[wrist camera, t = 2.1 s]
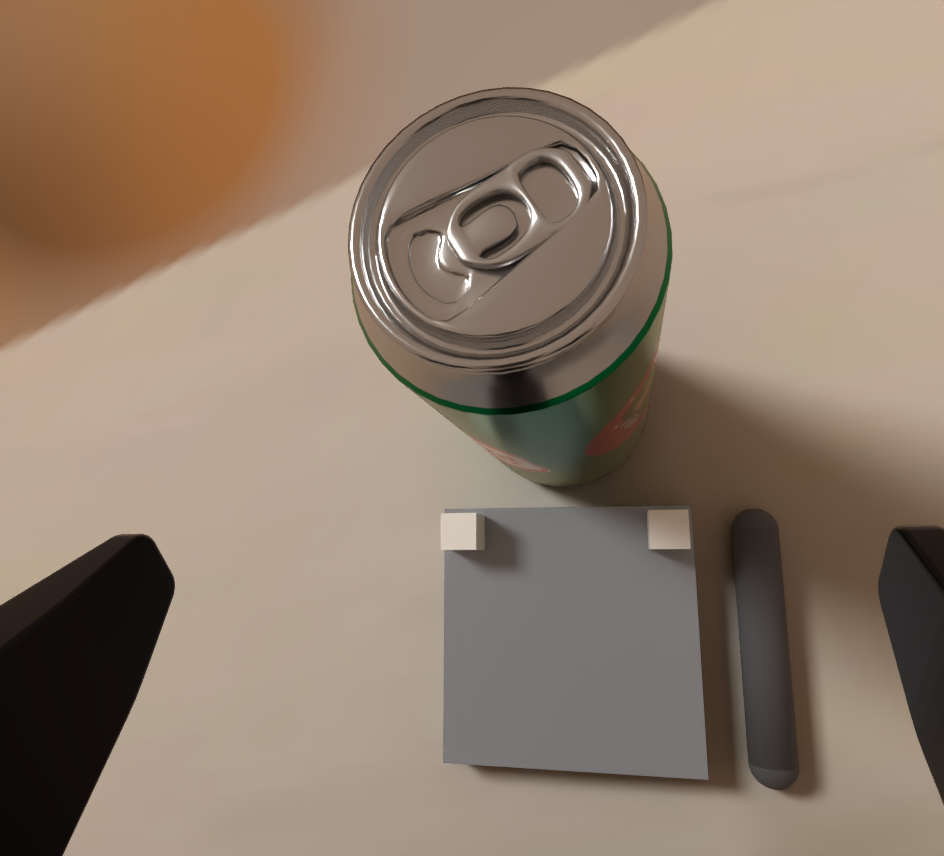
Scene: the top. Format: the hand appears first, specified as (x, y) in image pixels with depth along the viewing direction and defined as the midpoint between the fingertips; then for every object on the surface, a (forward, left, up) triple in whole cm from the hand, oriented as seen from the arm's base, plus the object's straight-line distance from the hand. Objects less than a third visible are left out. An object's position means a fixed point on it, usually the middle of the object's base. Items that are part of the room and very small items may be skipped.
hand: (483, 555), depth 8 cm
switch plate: (-1, +2, -12) cm, 13 cm away
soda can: (+3, -4, -13) cm, 13 cm away
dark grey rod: (-6, -2, -13) cm, 14 cm away
